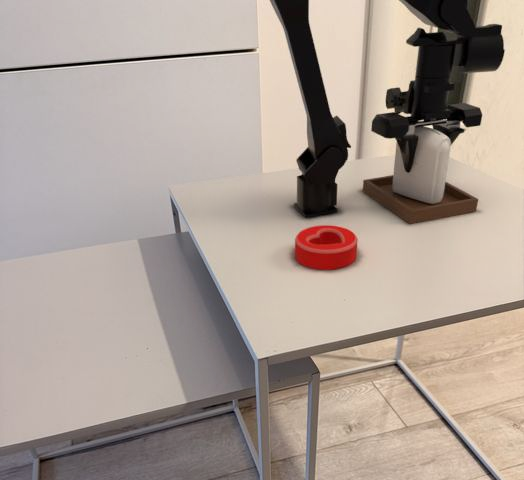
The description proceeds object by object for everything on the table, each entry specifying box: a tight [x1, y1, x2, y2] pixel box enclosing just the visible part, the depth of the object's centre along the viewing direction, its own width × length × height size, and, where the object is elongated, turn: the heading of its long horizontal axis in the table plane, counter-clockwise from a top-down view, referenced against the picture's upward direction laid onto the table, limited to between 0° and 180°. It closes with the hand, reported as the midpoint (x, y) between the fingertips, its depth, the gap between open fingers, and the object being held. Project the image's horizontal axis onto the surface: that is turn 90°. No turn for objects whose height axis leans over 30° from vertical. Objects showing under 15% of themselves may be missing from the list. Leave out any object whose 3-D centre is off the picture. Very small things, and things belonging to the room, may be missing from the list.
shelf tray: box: [362, 174, 479, 225], centre depth 101 cm, size 14×18×2 cm
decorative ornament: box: [294, 224, 359, 271], centre depth 84 cm, size 10×10×3 cm
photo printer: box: [392, 126, 452, 204], centre depth 97 cm, size 10×4×12 cm, turn 37°
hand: (420, 169), depth 98 cm, fingers closed on photo printer, 5 cm apart
